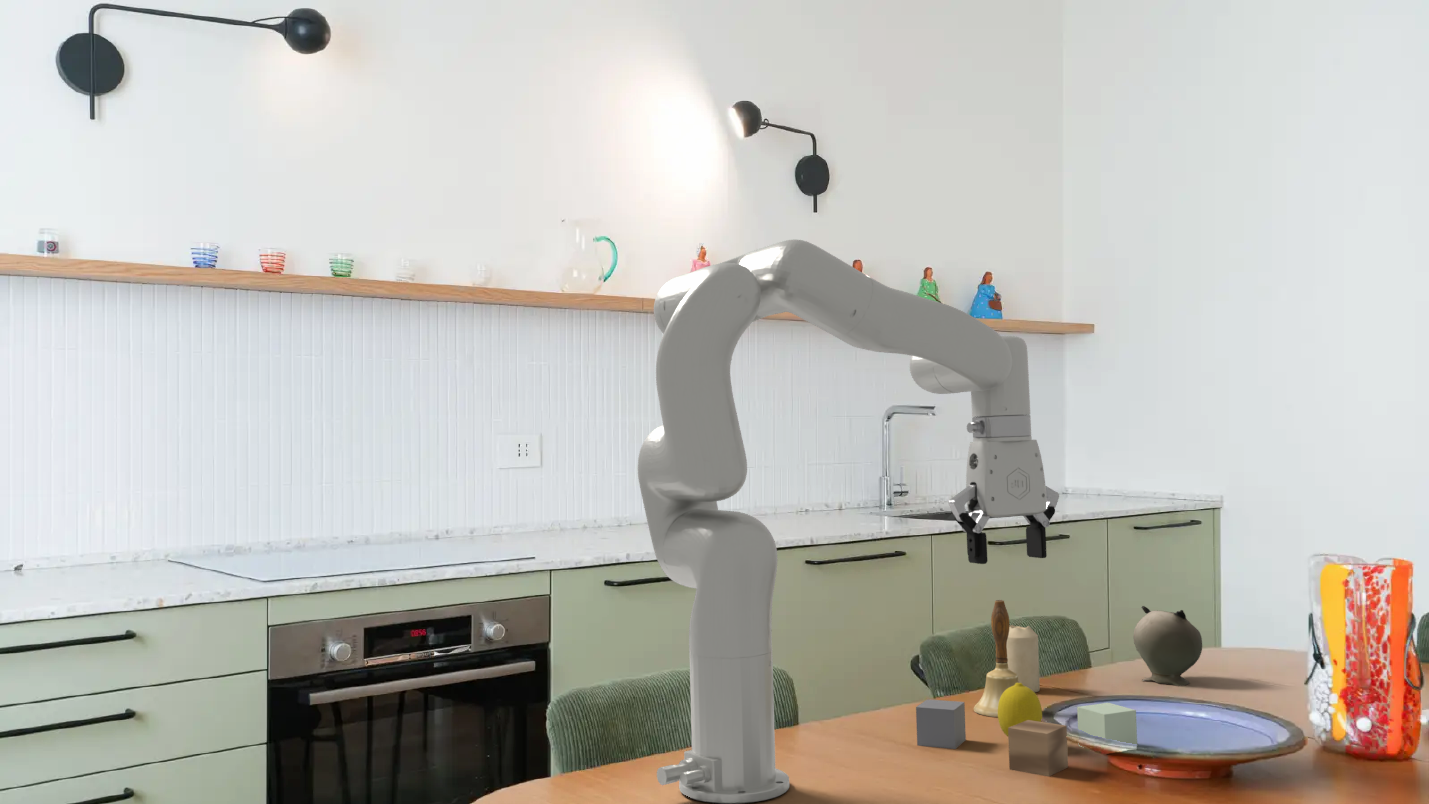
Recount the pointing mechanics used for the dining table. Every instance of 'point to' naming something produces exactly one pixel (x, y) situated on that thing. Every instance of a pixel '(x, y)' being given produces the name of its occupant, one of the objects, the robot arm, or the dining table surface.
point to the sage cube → (1108, 722)
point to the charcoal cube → (940, 723)
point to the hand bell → (997, 664)
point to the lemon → (1018, 707)
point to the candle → (1024, 656)
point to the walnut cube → (1038, 747)
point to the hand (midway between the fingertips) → (1007, 560)
